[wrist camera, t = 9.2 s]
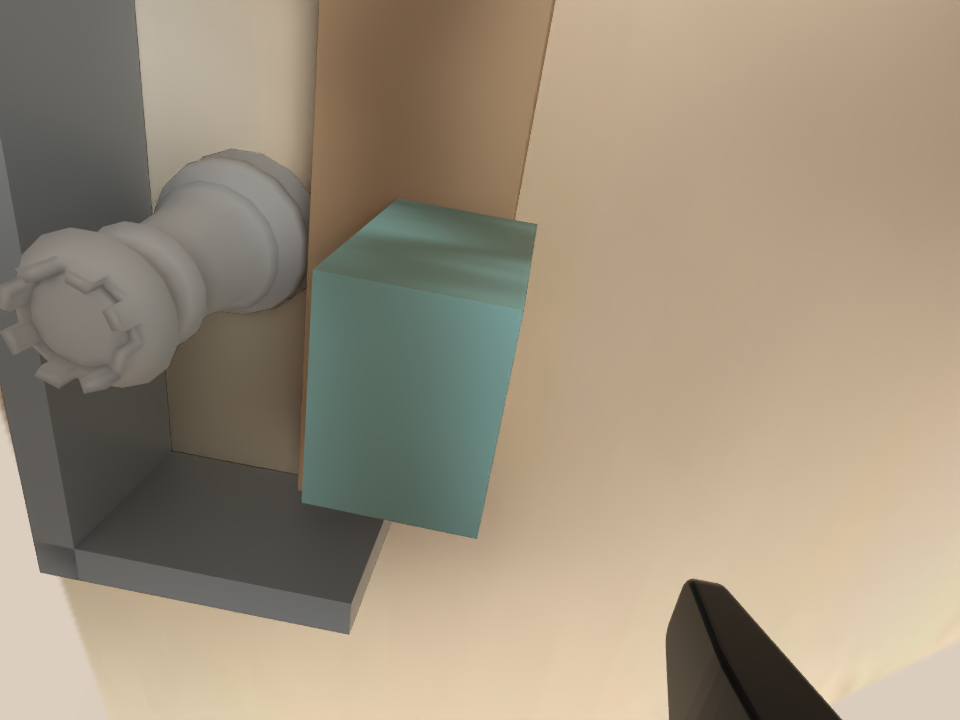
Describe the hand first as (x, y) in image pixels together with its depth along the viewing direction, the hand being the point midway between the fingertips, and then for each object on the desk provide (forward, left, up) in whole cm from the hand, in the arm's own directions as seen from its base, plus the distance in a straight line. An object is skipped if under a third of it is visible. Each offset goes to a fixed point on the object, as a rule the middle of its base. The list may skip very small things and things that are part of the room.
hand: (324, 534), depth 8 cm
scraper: (+1, 0, -12) cm, 12 cm away
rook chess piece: (+6, 0, -12) cm, 13 cm away
